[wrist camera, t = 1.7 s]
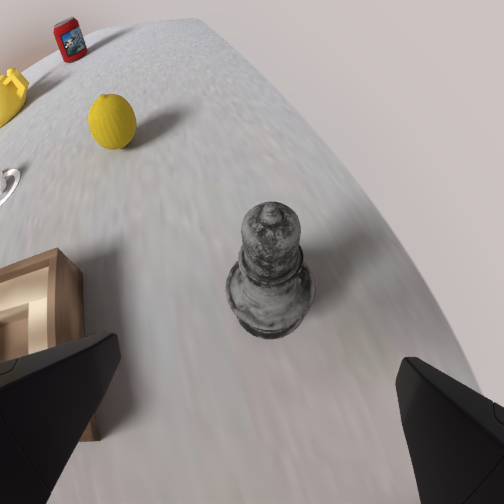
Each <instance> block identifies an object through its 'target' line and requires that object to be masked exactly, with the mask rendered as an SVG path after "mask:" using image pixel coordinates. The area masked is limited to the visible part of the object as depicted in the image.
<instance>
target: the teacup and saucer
mask: <svg viewBox="0 0 504 504" xmlns="http://www.w3.org/2000/svg"><path fill="white" fill-rule="evenodd" d="M8 175H13V176H14V177H15V182H14V185H13V187H12V189H11V190H10V192H9V193H8V194H7V196H6V197H5V198H4V199H3V200H1V201H0V206H1V205H2V204H3V203H4V202H5V201H6V200H7V199H8V198H9V197H10V196H11V194H12V193H13V192H14V190H15V188H16V187H17V185H18V182H19V180H20V172H19V170H17V169H12V170H9V171H7V172H5V173H4V174H3V173H2V171H1V170H0V194H1V193H3V192H4V190H5V189H6V186H7V184H6V181H5V179H4V177H6V176H8Z"/></svg>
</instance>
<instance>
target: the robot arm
mask: <svg viewBox="0 0 504 504" xmlns="http://www.w3.org/2000/svg"><path fill="white" fill-rule="evenodd" d="M120 359H121V353H120V347H119V342H118V337H117V335H116V334H115V333H113V332H108V331H103V332H100V333H97V334H93V335H90V336H87V337H84V338H81V339H78V340H74V341H71V342H68V343H65V344H61V345H58V346H55V347H52V348H48V349H45V350H42V351H38V352H35V353H32V354H28V355H25V356H22V357H20V358H15V359H11V360H7V361H4V362H0V504H46V503H47V501H48V499H49V497H50V495H51V492H52V491H53V489H54V487H55V485H56V483H57V481H58V479H59V477H60V475H61V473H62V471H63V469H64V467H65V466H66V464H67V462H68V460H69V458H70V456H71V454H72V453H73V451H74V449H75V447H76V445H77V443H78V442H79V440H80V438H81V436H82V434H83V433H84V431H85V429H86V427H87V426H88V424H89V422H90V420H91V418H92V417H93V415H94V413H95V411H96V410H97V408H98V406H99V405H100V403H101V401H102V399H103V397H104V396H105V394H106V391H107V389H108V387H109V385H110V383H111V380H112V378H113V376H114V374H115V371H116V369H117V367H118V365H119V362H120ZM396 391H397V397H398V403H399V409H400V415H401V421H402V426H403V430H404V434H405V438H406V441H407V445H408V449H409V453H410V457H411V461H412V465H413V469H414V474H415V478H416V483H417V487H418V492H419V497H420V502H421V504H504V407H502V406H500V405H499V404H497V403H495V402H494V403H493V401H491V400H490V399H488V398H486V397H484V396H483V395H481V394H479V393H478V392H476V391H474V390H472V389H471V388H469V387H467V386H465V385H464V384H462V383H460V382H458V381H457V380H455V379H453V378H452V377H450V376H448V375H446V374H445V373H443V372H441V371H439V370H438V369H436V368H434V367H433V366H431V365H429V364H427V363H426V362H424V361H422V360H421V359H419V358H417V357H405V358H403V360H402V362H401V365H400V368H399V371H398V374H397V377H396Z"/></svg>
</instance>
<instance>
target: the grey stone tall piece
mask: <svg viewBox="0 0 504 504" xmlns="http://www.w3.org/2000/svg"><path fill="white" fill-rule="evenodd" d="M300 233H301V226H300V222H299V219H298V216H297V215H296V213H295V212H294V211H293V210H292V209H291V208H289V207H288V206H286V205H284V204H282V203H278V202H265V203H261V204H259V205H257V206H255V207H253V208H252V209H251V210H249V212H248V213H247V214H246V215H245V217H244V220H243V222H242V228H241V234H242V241H243V245H242V246H241V249H240V251H239V255H238V261H237V262H236V263H235V265H234V266H233V267H232V269H231V270H230V273H229V275H228V278H227V281H226V295H227V301H228V303H229V305H230V307H231V309H232V311H233V312H234V313H235V314H236V315H237V318H238V320H239V322H240V324H241V325H242V326H243V328H244V329H245V330H246V331H247V332H249V333H251V334H252V335H254V336H256V337H259V338H263V339H277V338H281V337H284V336H286V335H288V334H290V333H292V332H293V331H294V330H295V329H296V328H297V327H298V326H299V324H300V322H301V321H302V319H303V316H304V315H305V314H306V313H307V312H308V310H309V308H310V307H311V305H312V303H313V299H314V295H315V281H314V278H313V275H312V272H311V271H310V269H309V268H308V266H307V265H306V263H305V262H304V261H303V252H302V249H301V246H300V245H299V240H300Z"/></svg>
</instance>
